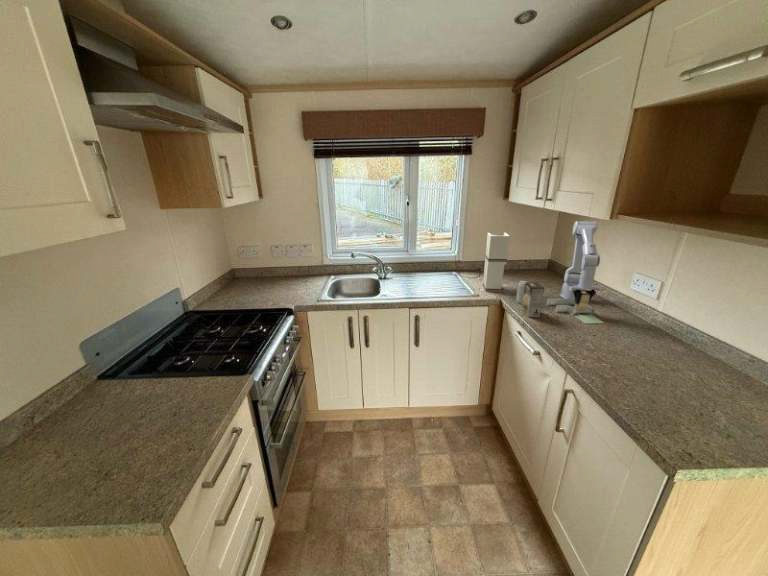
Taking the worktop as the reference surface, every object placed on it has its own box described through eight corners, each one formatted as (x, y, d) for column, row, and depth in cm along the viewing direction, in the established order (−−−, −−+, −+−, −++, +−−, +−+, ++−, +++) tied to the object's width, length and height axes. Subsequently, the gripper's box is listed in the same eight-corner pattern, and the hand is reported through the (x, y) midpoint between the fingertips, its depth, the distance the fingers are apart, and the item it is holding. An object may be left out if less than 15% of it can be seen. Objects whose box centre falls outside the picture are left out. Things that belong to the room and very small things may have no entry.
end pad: (574, 315, 155) (574, 315, 154) (591, 315, 154) (592, 314, 154) (585, 323, 146) (585, 323, 146) (603, 323, 146) (604, 322, 146)
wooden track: (546, 304, 169) (547, 298, 168) (575, 303, 169) (576, 298, 168) (560, 315, 155) (562, 309, 154) (592, 315, 155) (594, 308, 154)
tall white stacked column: (503, 292, 188) (509, 235, 176) (485, 291, 190) (490, 235, 178) (499, 286, 199) (505, 232, 187) (482, 285, 200) (487, 232, 189)
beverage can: (529, 304, 169) (532, 284, 165) (517, 304, 170) (519, 284, 166) (526, 300, 175) (529, 280, 171) (514, 299, 176) (517, 280, 172)
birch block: (574, 308, 159) (577, 292, 156) (581, 308, 159) (585, 292, 155) (578, 311, 155) (582, 295, 152) (586, 311, 155) (590, 294, 152)
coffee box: (520, 309, 163) (524, 281, 158) (533, 309, 163) (537, 281, 157) (527, 317, 154) (531, 287, 149) (540, 317, 154) (545, 287, 149)
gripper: (576, 281, 147) (571, 306, 152) (607, 280, 147) (600, 306, 152) (568, 276, 154) (563, 301, 158) (597, 276, 154) (591, 300, 158)
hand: (581, 303), depth 156 cm, fingers closed on birch block, 4 cm apart
